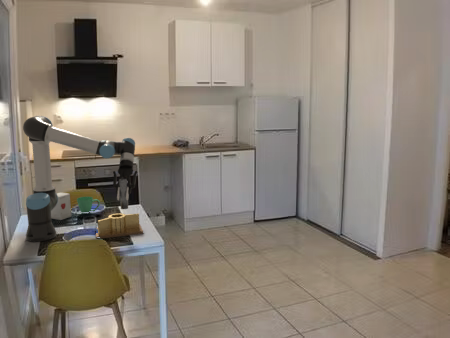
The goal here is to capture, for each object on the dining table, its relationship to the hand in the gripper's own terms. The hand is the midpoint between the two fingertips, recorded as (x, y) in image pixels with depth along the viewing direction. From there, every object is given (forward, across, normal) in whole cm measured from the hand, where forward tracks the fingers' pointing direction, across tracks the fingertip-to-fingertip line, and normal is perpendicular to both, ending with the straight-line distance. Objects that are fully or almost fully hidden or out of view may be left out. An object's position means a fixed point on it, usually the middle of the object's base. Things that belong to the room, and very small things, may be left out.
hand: (122, 198), depth 222 cm
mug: (-18, +31, -50) cm, 62 cm away
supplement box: (-13, +46, -45) cm, 66 cm away
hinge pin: (+2, 0, -7) cm, 7 cm away
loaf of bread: (+9, +5, -22) cm, 24 cm away
